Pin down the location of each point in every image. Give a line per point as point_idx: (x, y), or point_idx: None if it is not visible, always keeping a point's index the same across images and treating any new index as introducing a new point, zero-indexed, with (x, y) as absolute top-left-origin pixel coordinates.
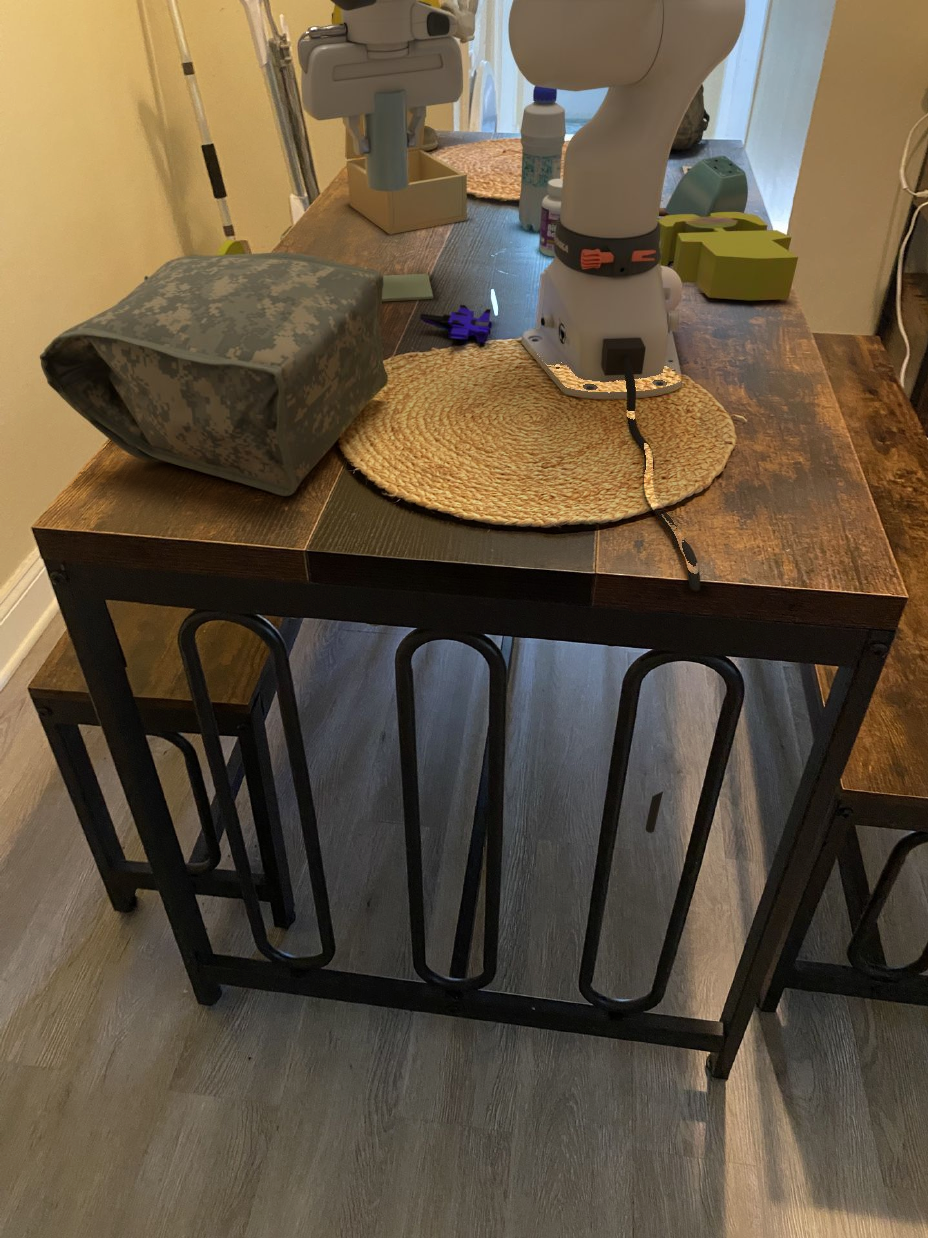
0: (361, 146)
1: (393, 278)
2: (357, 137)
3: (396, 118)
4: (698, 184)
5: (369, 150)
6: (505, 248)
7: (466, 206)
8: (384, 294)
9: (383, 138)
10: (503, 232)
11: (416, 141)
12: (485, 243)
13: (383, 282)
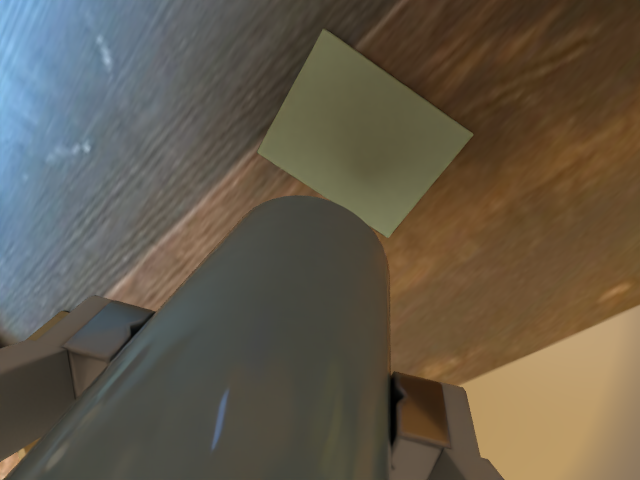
0: (457, 413)
1: (333, 179)
2: (495, 474)
3: (168, 441)
4: None
5: (400, 377)
6: (46, 161)
7: (43, 325)
8: (407, 119)
9: (338, 365)
10: (20, 226)
11: (93, 306)
12: (73, 207)
13: (364, 176)
